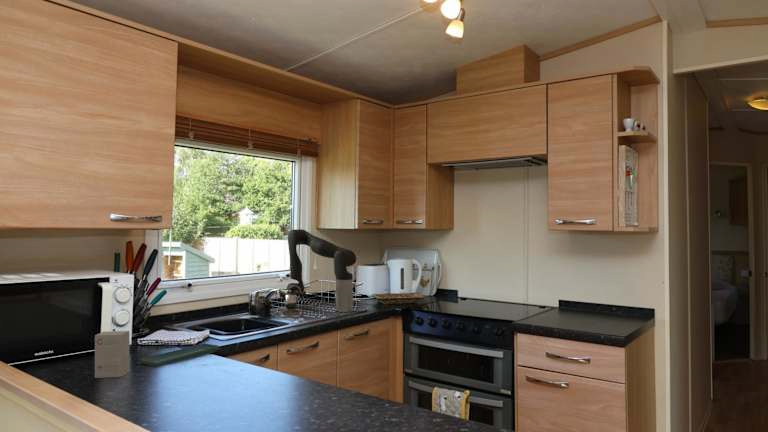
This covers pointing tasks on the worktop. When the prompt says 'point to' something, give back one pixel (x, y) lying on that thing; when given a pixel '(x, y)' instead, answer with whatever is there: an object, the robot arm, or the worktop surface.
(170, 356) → the dark green board
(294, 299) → the lens
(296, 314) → the mount ring
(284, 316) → the base board
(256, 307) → the camera
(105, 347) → the small box
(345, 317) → the worktop surface
